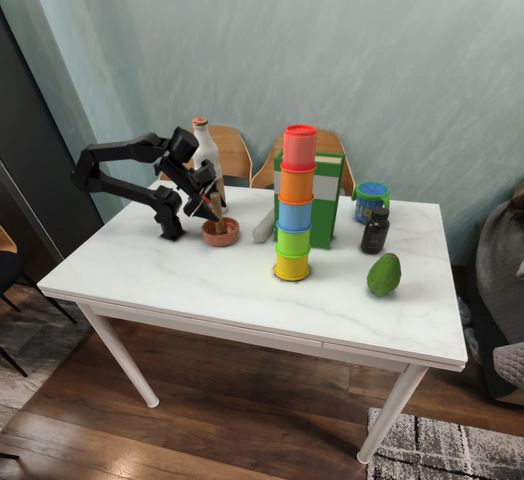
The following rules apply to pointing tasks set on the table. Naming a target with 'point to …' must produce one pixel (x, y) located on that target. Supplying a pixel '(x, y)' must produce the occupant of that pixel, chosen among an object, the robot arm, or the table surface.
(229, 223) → the bowl
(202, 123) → the fruit juice
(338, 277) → the table surface
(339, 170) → the hardback book
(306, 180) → the stacking cups
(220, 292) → the table surface
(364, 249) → the supplement bottle
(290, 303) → the table surface
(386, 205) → the snack cup
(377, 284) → the avocado
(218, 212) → the muddler
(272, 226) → the tube
